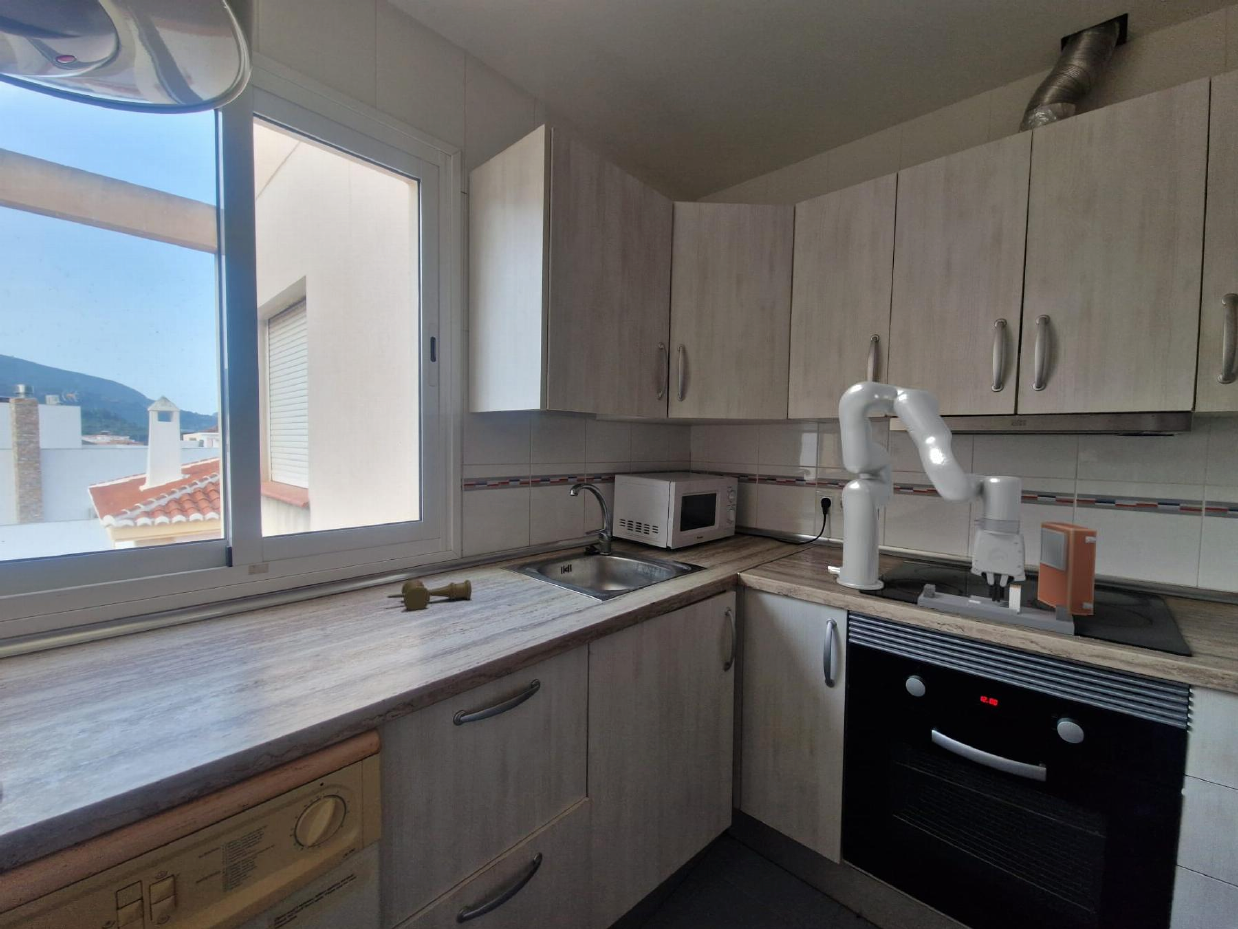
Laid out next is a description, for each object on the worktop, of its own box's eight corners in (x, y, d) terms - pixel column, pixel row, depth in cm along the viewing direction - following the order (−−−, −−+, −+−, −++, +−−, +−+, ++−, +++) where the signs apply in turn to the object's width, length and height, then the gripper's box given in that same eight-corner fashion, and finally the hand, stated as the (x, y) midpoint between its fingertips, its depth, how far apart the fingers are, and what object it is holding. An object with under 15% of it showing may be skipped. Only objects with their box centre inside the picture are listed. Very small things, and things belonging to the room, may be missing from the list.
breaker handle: (1008, 610, 120) (1009, 587, 120) (1009, 606, 123) (1010, 583, 123) (1019, 612, 119) (1020, 588, 119) (1019, 607, 122) (1020, 585, 122)
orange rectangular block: (1059, 600, 137) (1100, 618, 122) (1030, 598, 138) (1067, 615, 124) (1063, 521, 136) (1104, 530, 122) (1033, 520, 138) (1071, 529, 123)
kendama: (474, 605, 128) (388, 614, 118) (466, 596, 136) (385, 604, 126) (475, 581, 128) (388, 589, 118) (467, 574, 136) (386, 580, 126)
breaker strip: (917, 606, 130) (918, 588, 130) (924, 597, 137) (924, 581, 137) (1073, 635, 111) (1074, 615, 110) (1071, 623, 118) (1072, 604, 118)
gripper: (961, 524, 124) (957, 597, 125) (1039, 532, 115) (1035, 611, 116) (964, 521, 130) (961, 591, 131) (1039, 528, 121) (1035, 603, 121)
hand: (996, 600), depth 123 cm, fingers closed
